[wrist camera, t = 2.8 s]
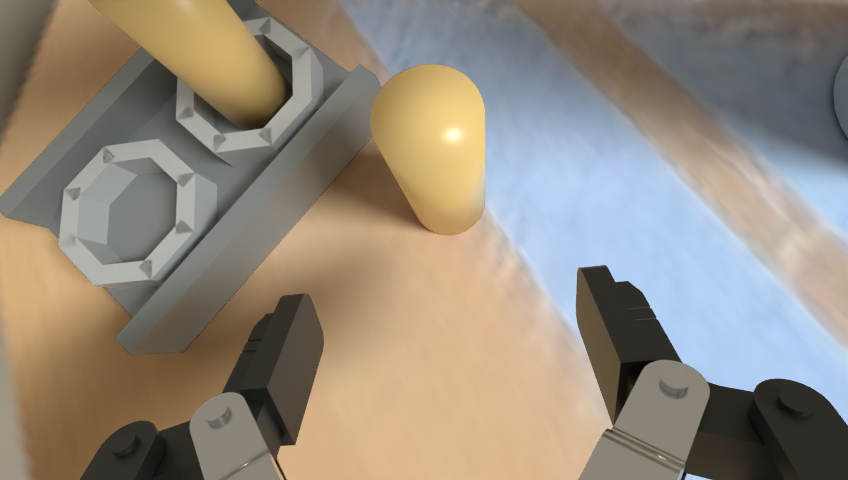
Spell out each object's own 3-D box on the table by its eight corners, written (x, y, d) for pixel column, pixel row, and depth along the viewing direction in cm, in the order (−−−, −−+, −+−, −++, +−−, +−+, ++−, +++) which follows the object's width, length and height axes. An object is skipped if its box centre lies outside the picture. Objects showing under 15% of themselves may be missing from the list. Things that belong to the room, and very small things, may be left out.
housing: (255, 11, 30) (118, -183, 19) (392, 113, 27) (327, -43, 16) (60, 222, 29) (-213, 148, 17) (183, 352, 26) (-47, 363, 15)
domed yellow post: (444, 152, 26) (420, 44, 17) (500, 194, 25) (509, 105, 16) (398, 205, 26) (346, 127, 16) (453, 249, 25) (433, 194, 15)
